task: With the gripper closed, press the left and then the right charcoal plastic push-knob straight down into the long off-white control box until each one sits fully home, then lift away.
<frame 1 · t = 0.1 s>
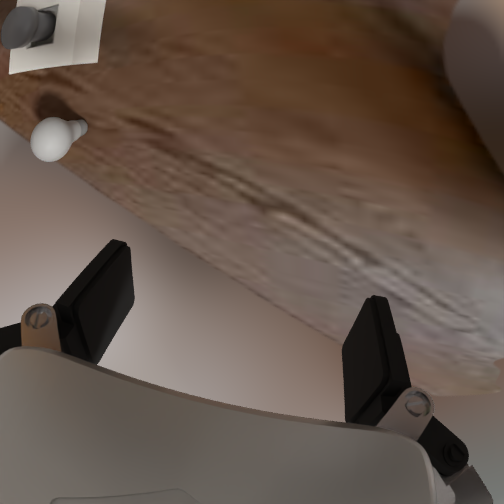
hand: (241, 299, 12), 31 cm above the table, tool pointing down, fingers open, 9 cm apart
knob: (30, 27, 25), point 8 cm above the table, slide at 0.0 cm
lightbulb: (84, 125, 40), on the table
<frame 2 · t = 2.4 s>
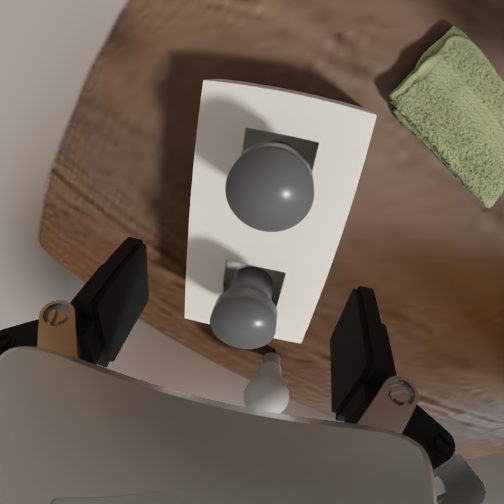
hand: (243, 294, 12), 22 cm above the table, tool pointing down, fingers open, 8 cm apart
control box: (268, 209, 34), on the table
washcloth: (468, 118, 25), on the table
lightbulb: (272, 352, 47), on the table
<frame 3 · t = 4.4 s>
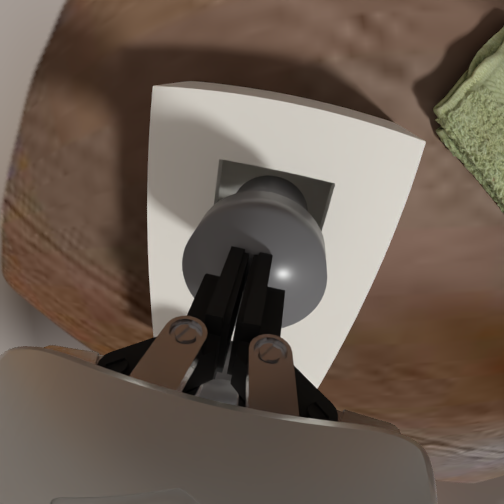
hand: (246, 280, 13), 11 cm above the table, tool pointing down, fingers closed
control box: (260, 259, 26), on the table
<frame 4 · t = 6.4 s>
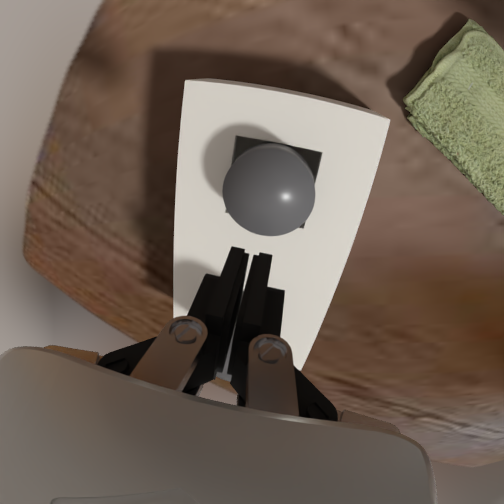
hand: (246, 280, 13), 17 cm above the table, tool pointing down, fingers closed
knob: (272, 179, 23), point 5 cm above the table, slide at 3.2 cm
control box: (264, 225, 31), on the table
washcloth: (488, 122, 22), on the table
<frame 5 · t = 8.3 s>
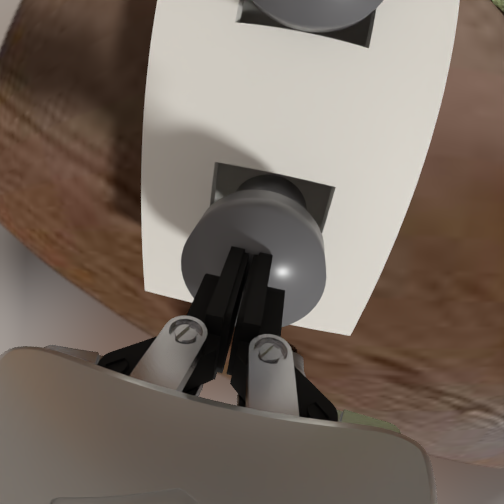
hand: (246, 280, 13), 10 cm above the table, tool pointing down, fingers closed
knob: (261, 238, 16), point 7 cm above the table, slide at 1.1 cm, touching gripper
control box: (292, 95, 18), on the table
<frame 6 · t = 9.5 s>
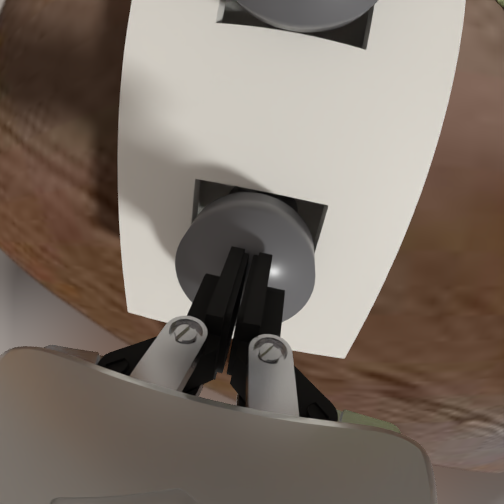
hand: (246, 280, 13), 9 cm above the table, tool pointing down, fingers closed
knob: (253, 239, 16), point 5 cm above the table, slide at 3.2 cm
control box: (282, 102, 17), on the table
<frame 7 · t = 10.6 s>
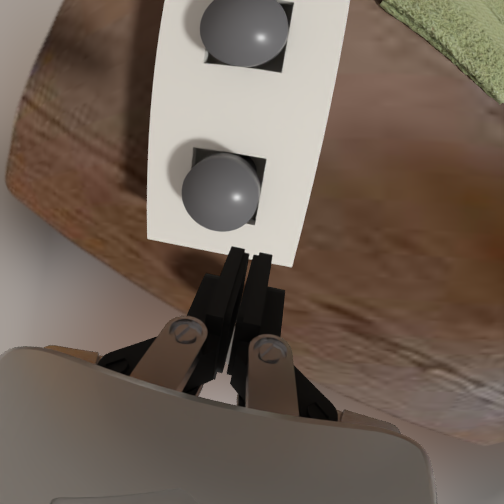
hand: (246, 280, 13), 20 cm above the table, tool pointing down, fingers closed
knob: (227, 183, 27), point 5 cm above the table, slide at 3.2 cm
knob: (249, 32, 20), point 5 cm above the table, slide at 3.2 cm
control box: (246, 104, 28), on the table
washcloth: (459, 14, 19), on the table
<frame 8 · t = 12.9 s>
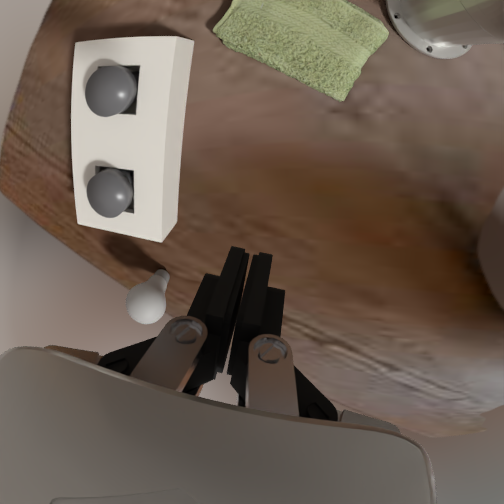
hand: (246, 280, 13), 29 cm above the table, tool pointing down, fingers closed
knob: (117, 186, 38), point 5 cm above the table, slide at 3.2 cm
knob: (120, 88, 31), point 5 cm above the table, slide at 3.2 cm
control box: (136, 131, 39), on the table
washcloth: (301, 29, 30), on the table
lightbulb: (164, 272, 52), on the table
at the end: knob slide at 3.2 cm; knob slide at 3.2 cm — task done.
